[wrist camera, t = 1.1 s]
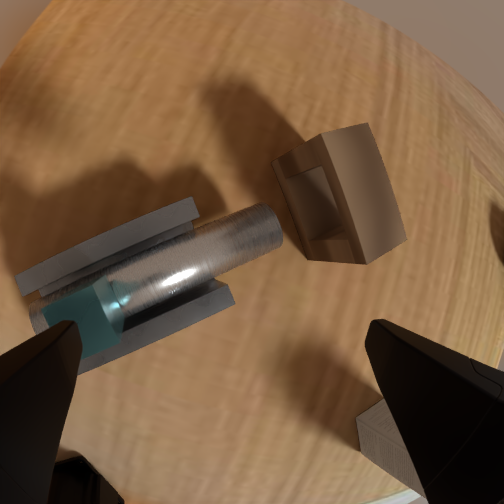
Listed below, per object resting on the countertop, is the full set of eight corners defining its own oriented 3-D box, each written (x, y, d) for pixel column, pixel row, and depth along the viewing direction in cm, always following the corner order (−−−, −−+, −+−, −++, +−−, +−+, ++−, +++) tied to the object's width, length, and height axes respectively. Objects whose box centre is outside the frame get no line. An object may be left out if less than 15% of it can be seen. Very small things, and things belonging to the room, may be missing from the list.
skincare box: (388, 433, 29) (464, 477, 17) (359, 453, 27) (434, 506, 16) (385, 395, 28) (473, 438, 17) (354, 416, 27) (442, 471, 15)
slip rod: (59, 341, 16) (22, 391, 9) (39, 298, 16) (-12, 326, 9) (268, 247, 21) (333, 248, 14) (251, 205, 20) (311, 184, 13)
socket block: (307, 260, 24) (367, 264, 18) (271, 162, 23) (320, 133, 16) (345, 240, 25) (407, 239, 19) (312, 149, 24) (367, 122, 18)
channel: (77, 355, 18) (65, 380, 14) (38, 270, 17) (14, 276, 13) (216, 292, 22) (235, 303, 17) (181, 206, 21) (191, 196, 16)
